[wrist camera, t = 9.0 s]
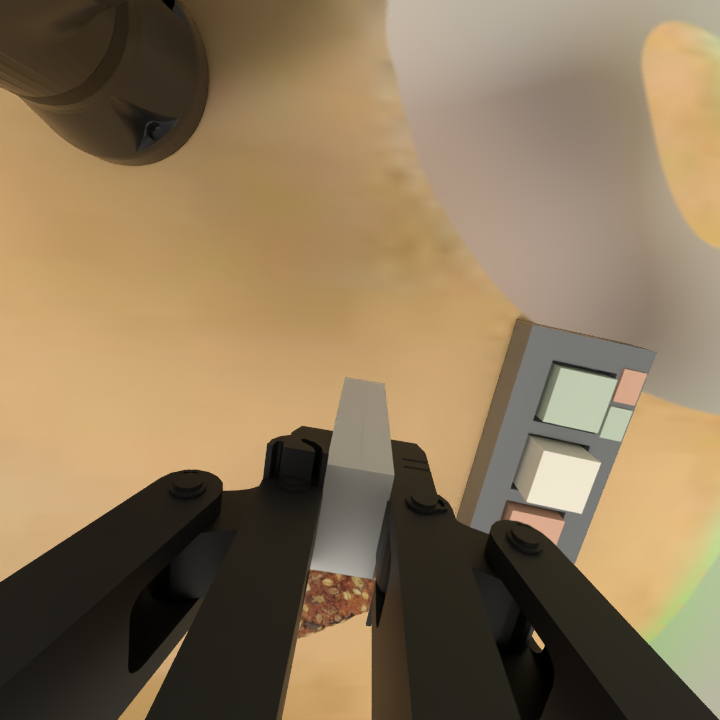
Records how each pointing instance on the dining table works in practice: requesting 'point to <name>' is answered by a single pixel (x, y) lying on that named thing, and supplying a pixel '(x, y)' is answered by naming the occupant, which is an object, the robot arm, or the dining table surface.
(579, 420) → the key sage
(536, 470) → the key cream
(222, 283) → the dining table surface
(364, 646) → the dining table surface
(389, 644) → the robot arm
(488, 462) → the keypad board
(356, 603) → the bread
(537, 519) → the key terracotta
